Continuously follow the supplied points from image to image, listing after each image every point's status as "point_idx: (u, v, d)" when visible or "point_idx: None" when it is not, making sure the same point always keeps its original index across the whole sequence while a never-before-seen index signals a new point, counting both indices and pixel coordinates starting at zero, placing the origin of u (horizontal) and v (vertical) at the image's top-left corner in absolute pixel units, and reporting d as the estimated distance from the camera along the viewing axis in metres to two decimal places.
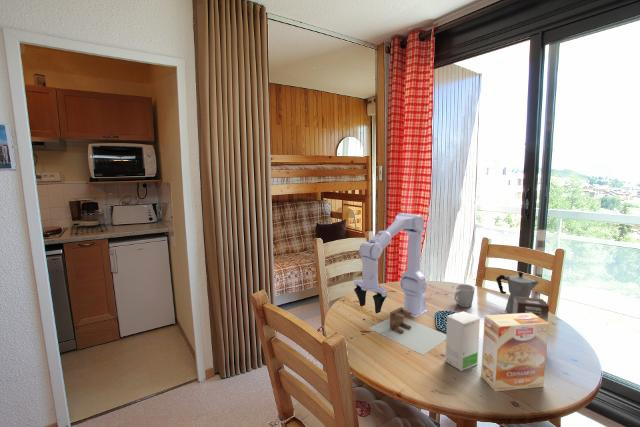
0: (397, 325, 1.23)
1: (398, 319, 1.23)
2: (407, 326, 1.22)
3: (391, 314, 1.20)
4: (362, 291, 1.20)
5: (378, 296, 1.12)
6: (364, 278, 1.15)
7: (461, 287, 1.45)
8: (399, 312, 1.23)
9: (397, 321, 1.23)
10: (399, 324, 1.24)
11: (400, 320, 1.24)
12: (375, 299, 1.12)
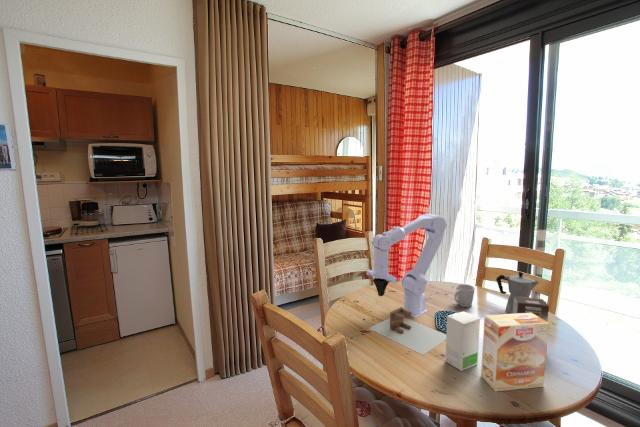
0: (397, 325, 1.23)
1: (398, 319, 1.23)
2: (407, 326, 1.22)
3: (391, 314, 1.20)
4: None
5: (382, 281, 1.27)
6: (376, 267, 1.28)
7: (461, 287, 1.45)
8: (399, 312, 1.23)
9: (397, 321, 1.23)
10: (399, 324, 1.24)
11: (400, 320, 1.24)
12: (379, 283, 1.28)
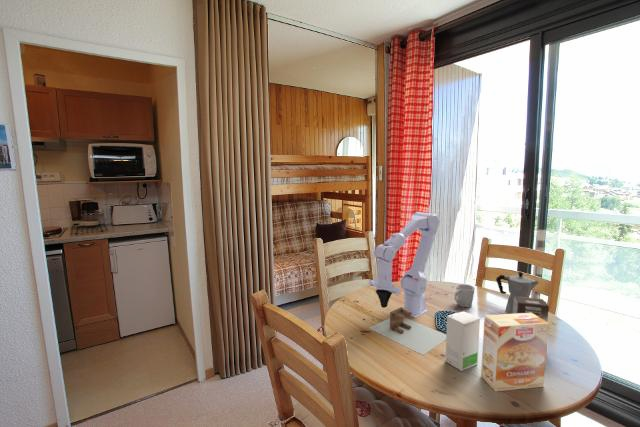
0: (397, 325, 1.23)
1: (398, 319, 1.23)
2: (407, 326, 1.22)
3: (391, 314, 1.20)
4: None
5: (385, 292, 1.24)
6: (379, 278, 1.24)
7: (461, 287, 1.45)
8: (399, 312, 1.23)
9: (397, 321, 1.23)
10: (399, 324, 1.24)
11: (400, 320, 1.24)
12: (382, 295, 1.24)
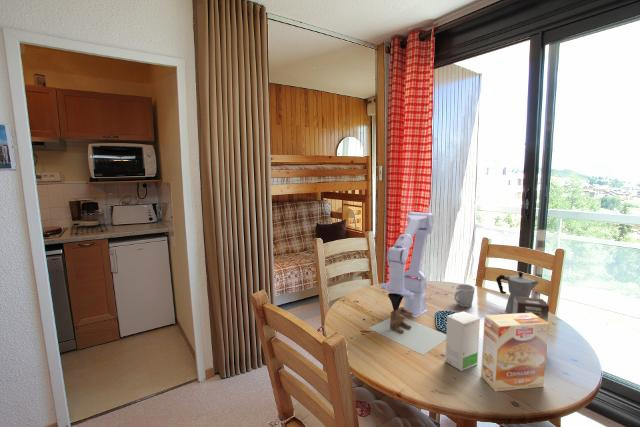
0: (397, 325, 1.23)
1: (398, 319, 1.23)
2: (407, 326, 1.22)
3: (392, 314, 1.20)
4: None
5: (396, 296, 1.20)
6: (391, 281, 1.20)
7: (461, 287, 1.45)
8: (400, 312, 1.22)
9: (398, 320, 1.23)
10: (399, 324, 1.23)
11: (400, 320, 1.24)
12: (394, 298, 1.20)
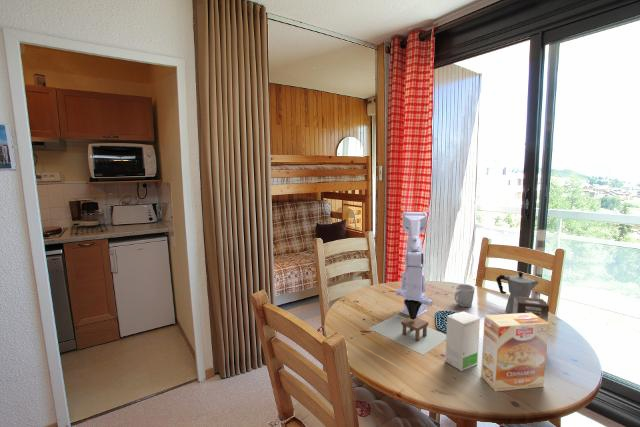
0: None
1: None
2: None
3: (415, 329, 1.12)
4: None
5: (415, 303, 1.14)
6: (408, 287, 1.14)
7: (461, 287, 1.45)
8: None
9: None
10: None
11: None
12: (412, 306, 1.14)
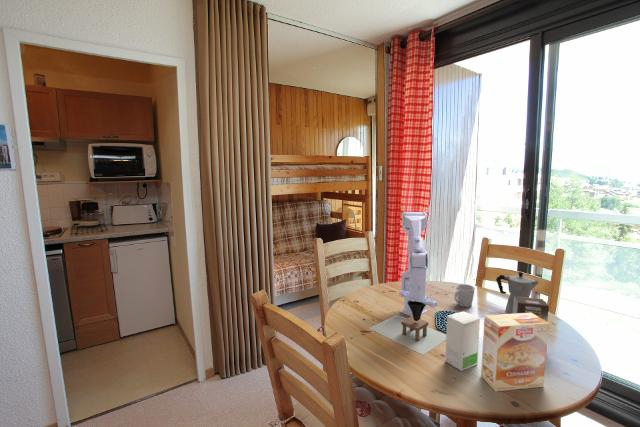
0: None
1: None
2: None
3: (415, 329, 1.12)
4: None
5: (419, 304, 1.12)
6: (412, 289, 1.13)
7: (461, 287, 1.45)
8: None
9: None
10: None
11: None
12: (416, 307, 1.13)
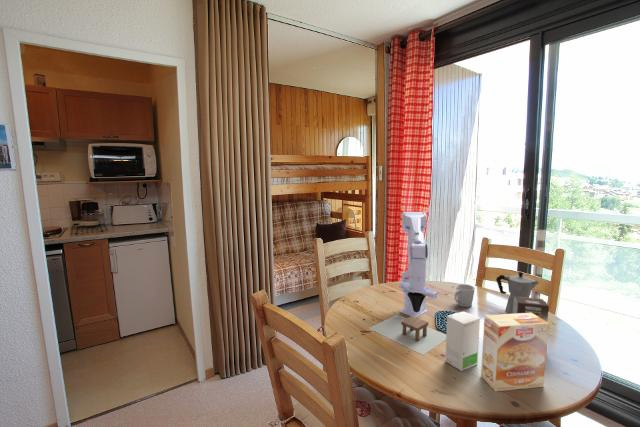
0: None
1: None
2: None
3: (415, 329, 1.12)
4: None
5: (419, 295, 1.12)
6: (412, 280, 1.12)
7: (461, 287, 1.45)
8: None
9: None
10: None
11: None
12: (415, 298, 1.12)
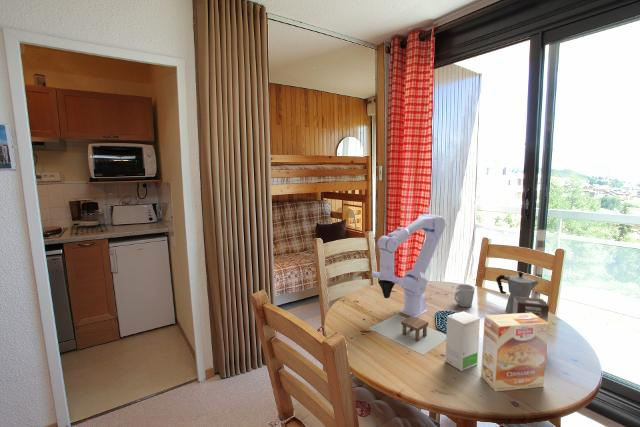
0: None
1: None
2: None
3: (415, 329, 1.12)
4: None
5: (388, 283, 1.25)
6: (382, 269, 1.25)
7: (461, 287, 1.45)
8: None
9: None
10: None
11: None
12: (385, 285, 1.25)
